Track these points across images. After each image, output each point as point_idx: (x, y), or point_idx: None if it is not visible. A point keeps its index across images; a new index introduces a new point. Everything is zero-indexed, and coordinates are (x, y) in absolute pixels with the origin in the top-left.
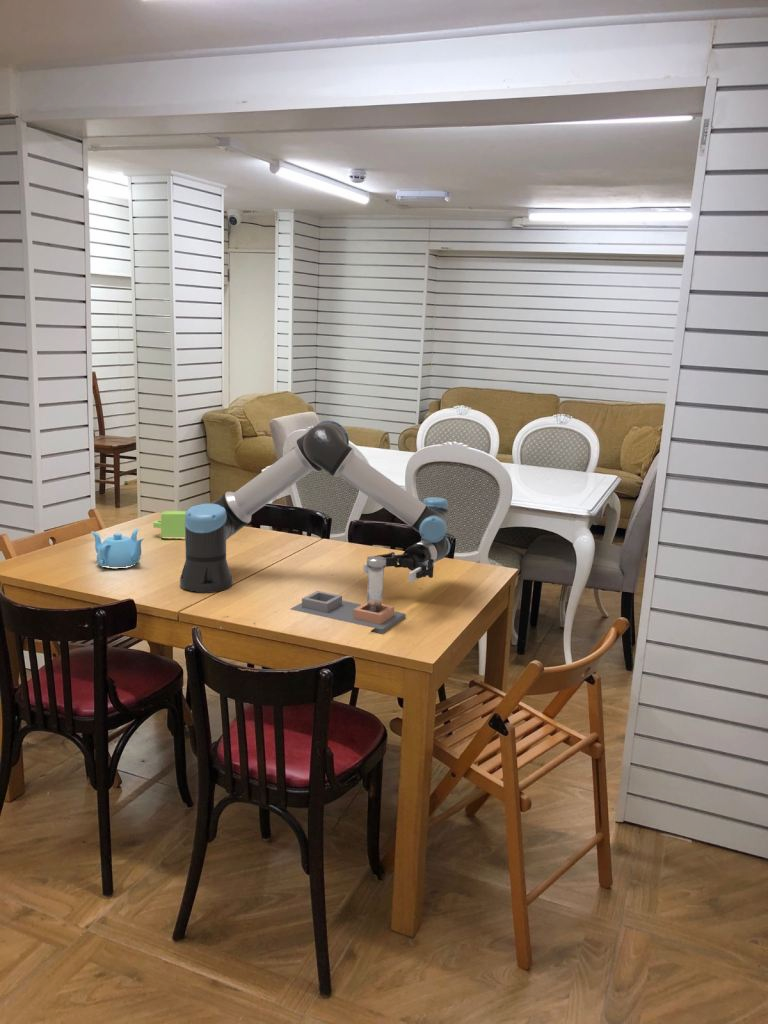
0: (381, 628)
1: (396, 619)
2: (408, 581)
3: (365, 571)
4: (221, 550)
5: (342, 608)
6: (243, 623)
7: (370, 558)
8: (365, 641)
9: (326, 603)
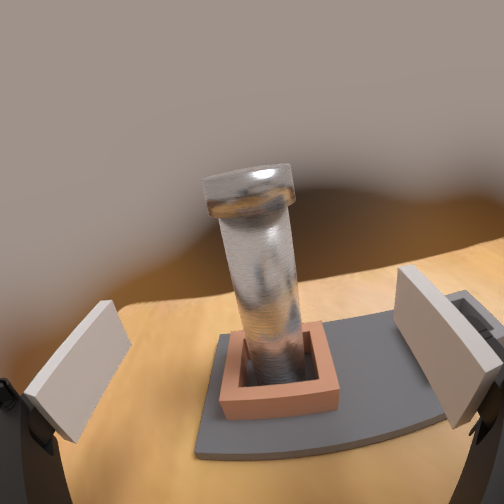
0: (223, 337)
1: (206, 397)
2: (127, 339)
3: (395, 303)
4: None
5: (404, 367)
6: (441, 255)
7: (270, 165)
8: (238, 309)
9: None
